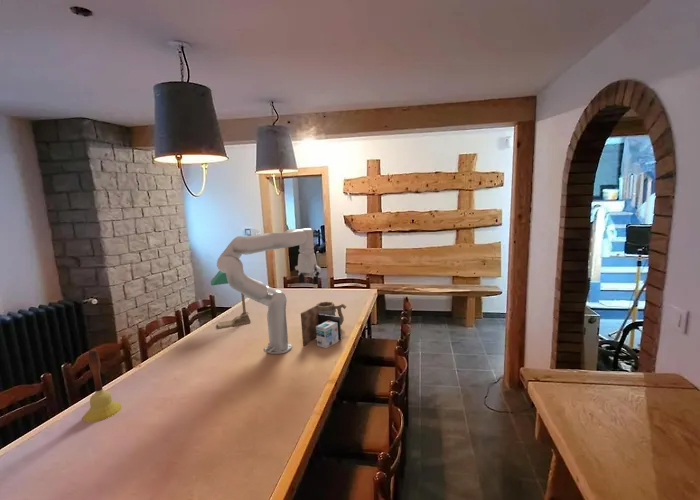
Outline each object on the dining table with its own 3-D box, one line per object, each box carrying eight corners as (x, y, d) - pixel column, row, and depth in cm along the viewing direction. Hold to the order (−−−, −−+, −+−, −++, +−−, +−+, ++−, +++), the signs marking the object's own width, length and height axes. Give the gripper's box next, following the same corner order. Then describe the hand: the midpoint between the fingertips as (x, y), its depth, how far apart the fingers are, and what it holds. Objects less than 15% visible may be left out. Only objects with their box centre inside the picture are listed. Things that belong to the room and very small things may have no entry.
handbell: (115, 399, 146) (105, 341, 142) (126, 409, 138) (117, 348, 134) (78, 414, 136) (67, 352, 132) (88, 426, 128) (77, 360, 125)
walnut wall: (304, 346, 188) (301, 313, 186) (303, 346, 189) (300, 313, 186) (320, 336, 201) (318, 305, 199) (319, 335, 202) (316, 304, 199)
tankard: (312, 329, 213) (310, 304, 211) (323, 322, 224) (321, 298, 222) (341, 333, 204) (339, 307, 201) (351, 325, 215) (350, 301, 212)
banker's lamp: (251, 324, 225) (246, 270, 220) (216, 330, 218) (209, 274, 213) (248, 317, 240) (243, 266, 235) (215, 323, 232) (209, 270, 227)
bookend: (340, 340, 194) (339, 317, 192) (319, 336, 200) (318, 314, 198) (341, 339, 194) (340, 316, 192) (320, 336, 201) (318, 313, 199)
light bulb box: (326, 348, 184) (325, 328, 182) (316, 346, 188) (315, 326, 186) (339, 341, 193) (338, 322, 191) (329, 338, 197) (328, 320, 195)
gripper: (289, 251, 194) (292, 282, 196) (315, 253, 185) (317, 285, 187) (298, 249, 200) (300, 280, 202) (324, 251, 191) (325, 282, 193)
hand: (308, 282), depth 195 cm, fingers open, 9 cm apart
